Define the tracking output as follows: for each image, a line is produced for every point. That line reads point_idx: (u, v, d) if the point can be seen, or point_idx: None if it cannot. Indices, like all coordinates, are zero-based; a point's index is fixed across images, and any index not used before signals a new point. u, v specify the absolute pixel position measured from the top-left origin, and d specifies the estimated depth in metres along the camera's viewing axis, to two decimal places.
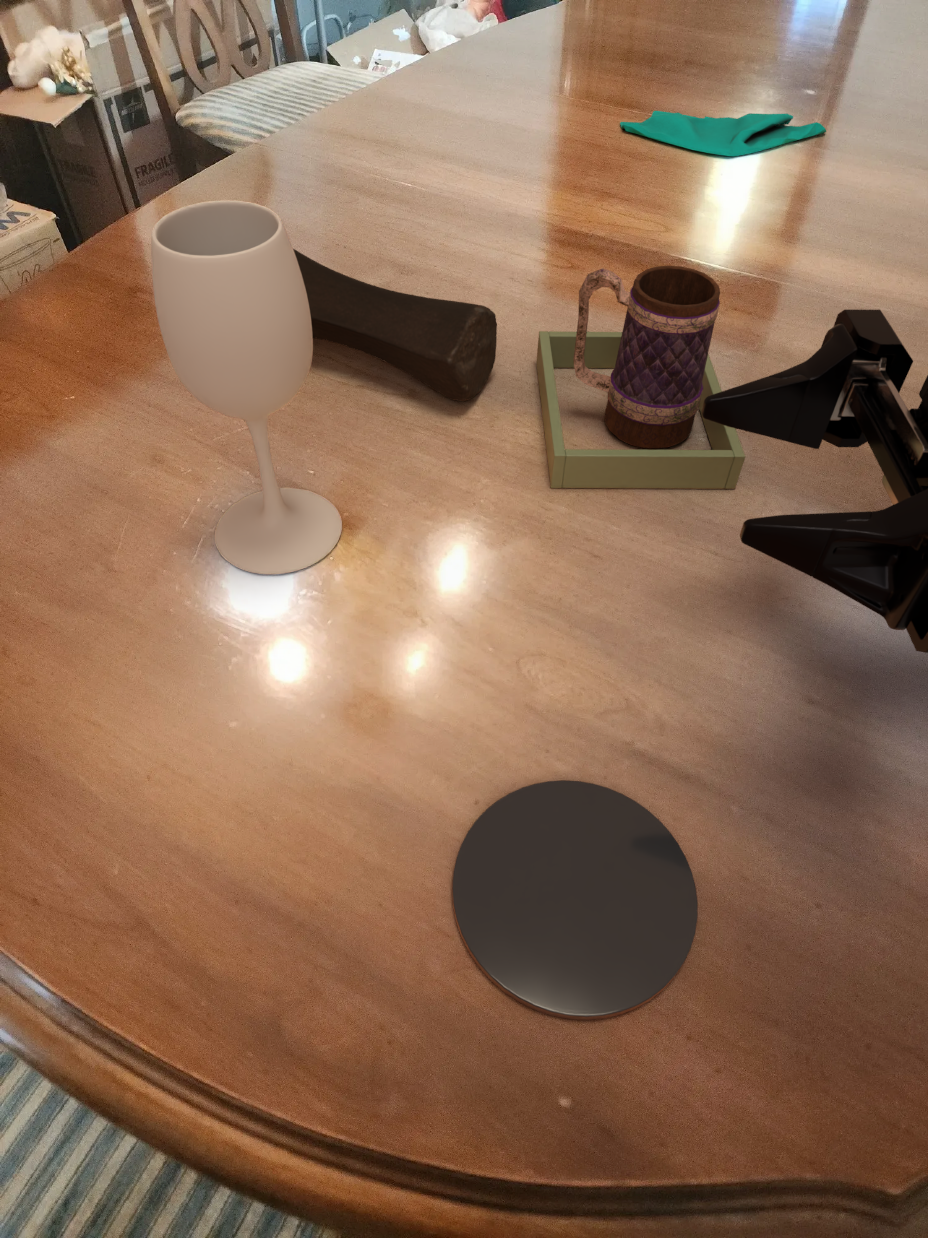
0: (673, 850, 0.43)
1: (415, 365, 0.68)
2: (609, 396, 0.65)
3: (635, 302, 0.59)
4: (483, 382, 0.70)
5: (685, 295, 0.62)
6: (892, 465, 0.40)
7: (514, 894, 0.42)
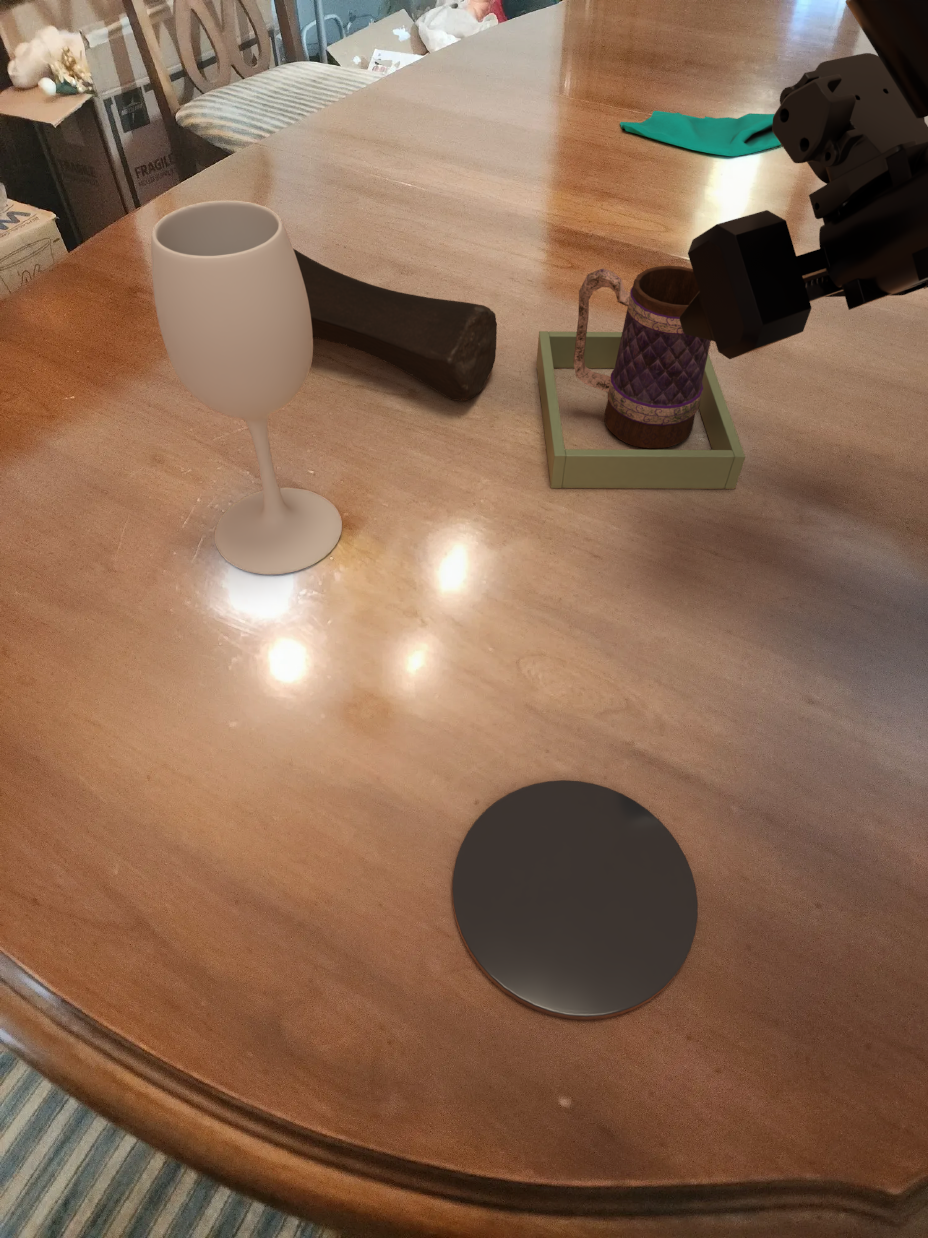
0: (673, 850, 0.43)
1: (415, 365, 0.68)
2: (609, 396, 0.65)
3: (635, 302, 0.59)
4: (483, 382, 0.70)
5: (685, 295, 0.62)
6: None
7: (514, 894, 0.42)
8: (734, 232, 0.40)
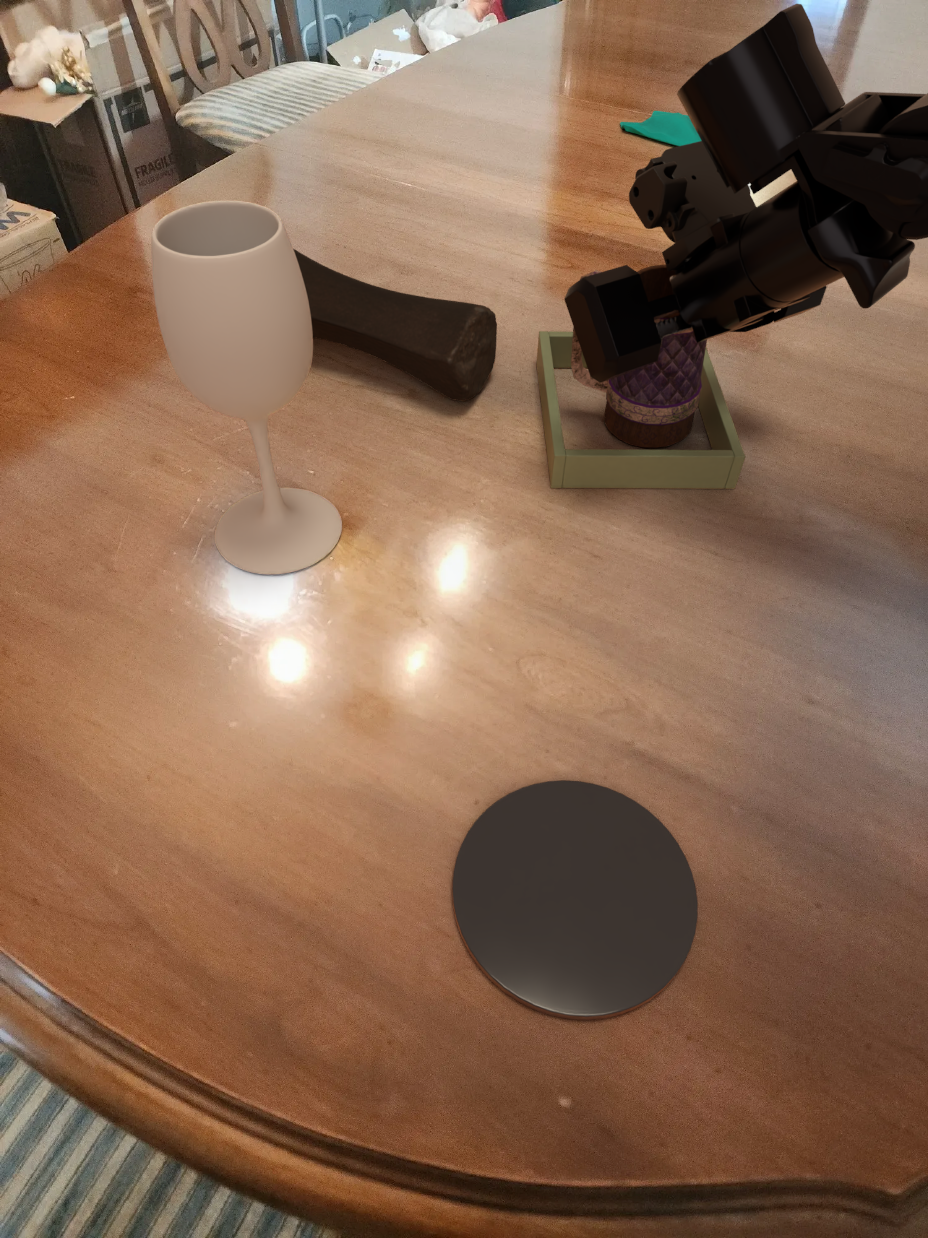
0: (673, 850, 0.43)
1: (415, 365, 0.68)
2: (607, 396, 0.65)
3: None
4: (483, 382, 0.70)
5: None
6: None
7: (514, 894, 0.42)
8: (595, 284, 0.51)
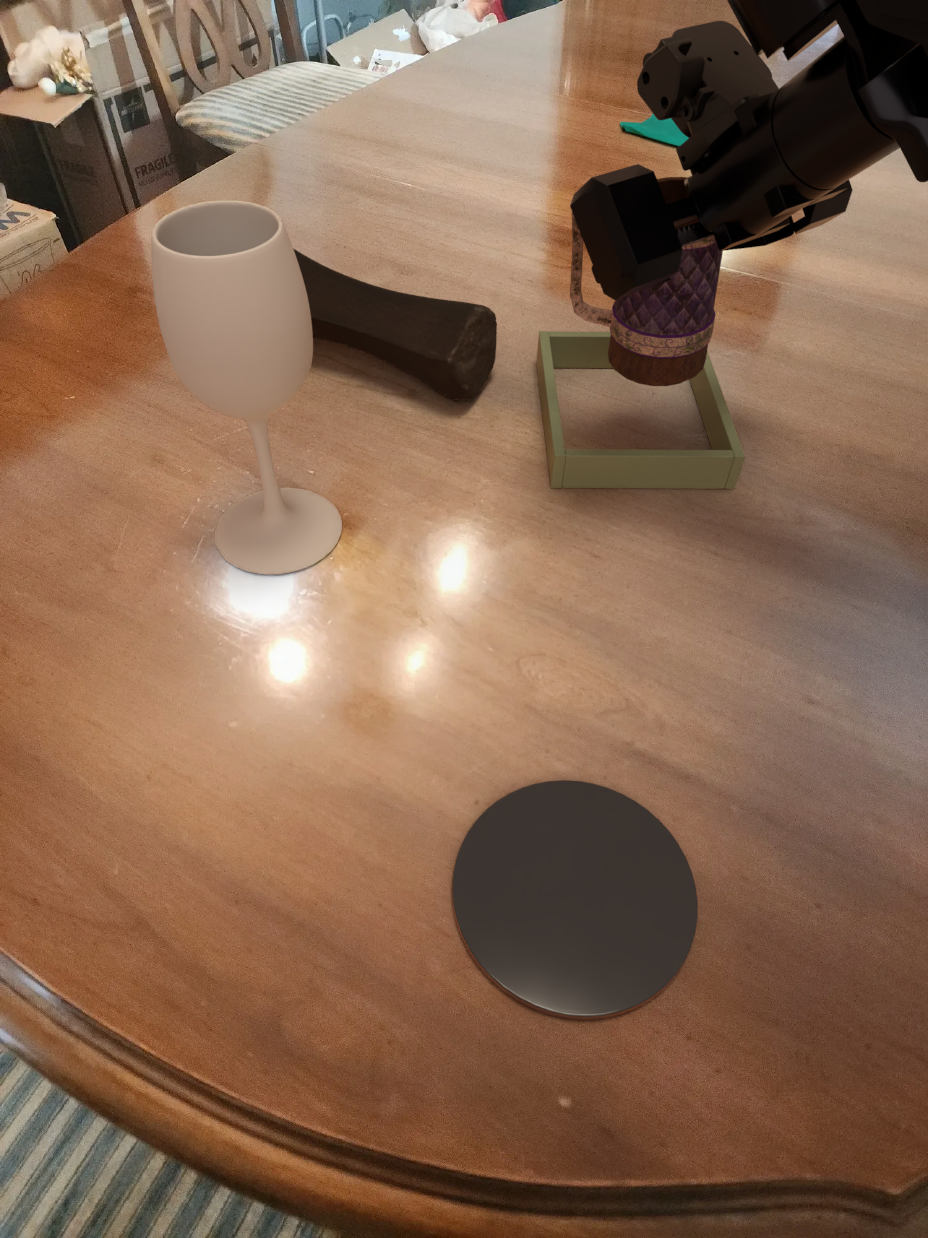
0: (673, 850, 0.43)
1: (415, 365, 0.68)
2: (612, 331, 0.59)
3: None
4: (483, 382, 0.70)
5: None
6: None
7: (514, 894, 0.42)
8: (606, 183, 0.45)
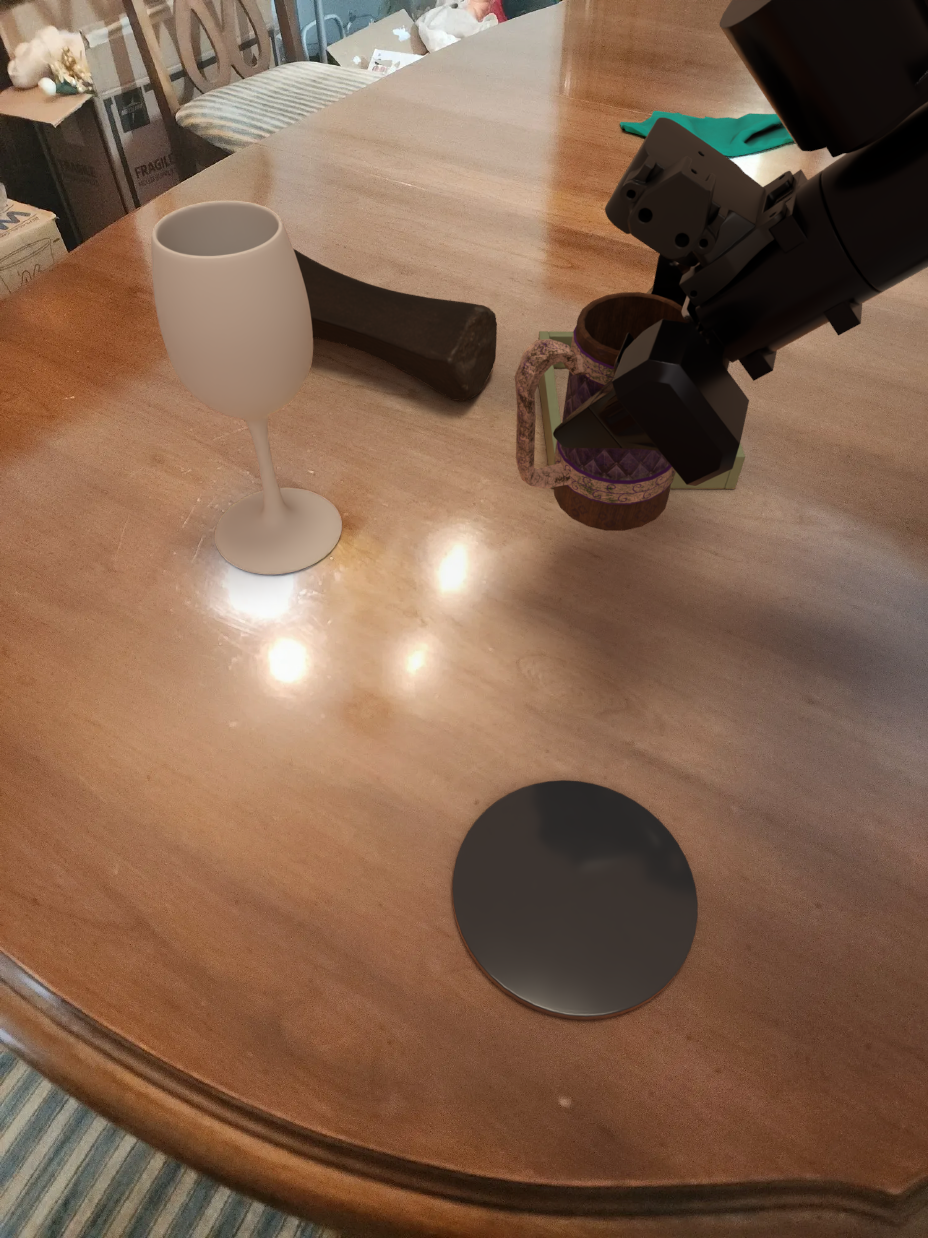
0: (673, 850, 0.43)
1: (415, 365, 0.68)
2: (578, 488, 0.48)
3: (608, 366, 0.42)
4: (483, 382, 0.70)
5: (617, 328, 0.46)
6: None
7: (514, 894, 0.42)
8: (674, 362, 0.34)
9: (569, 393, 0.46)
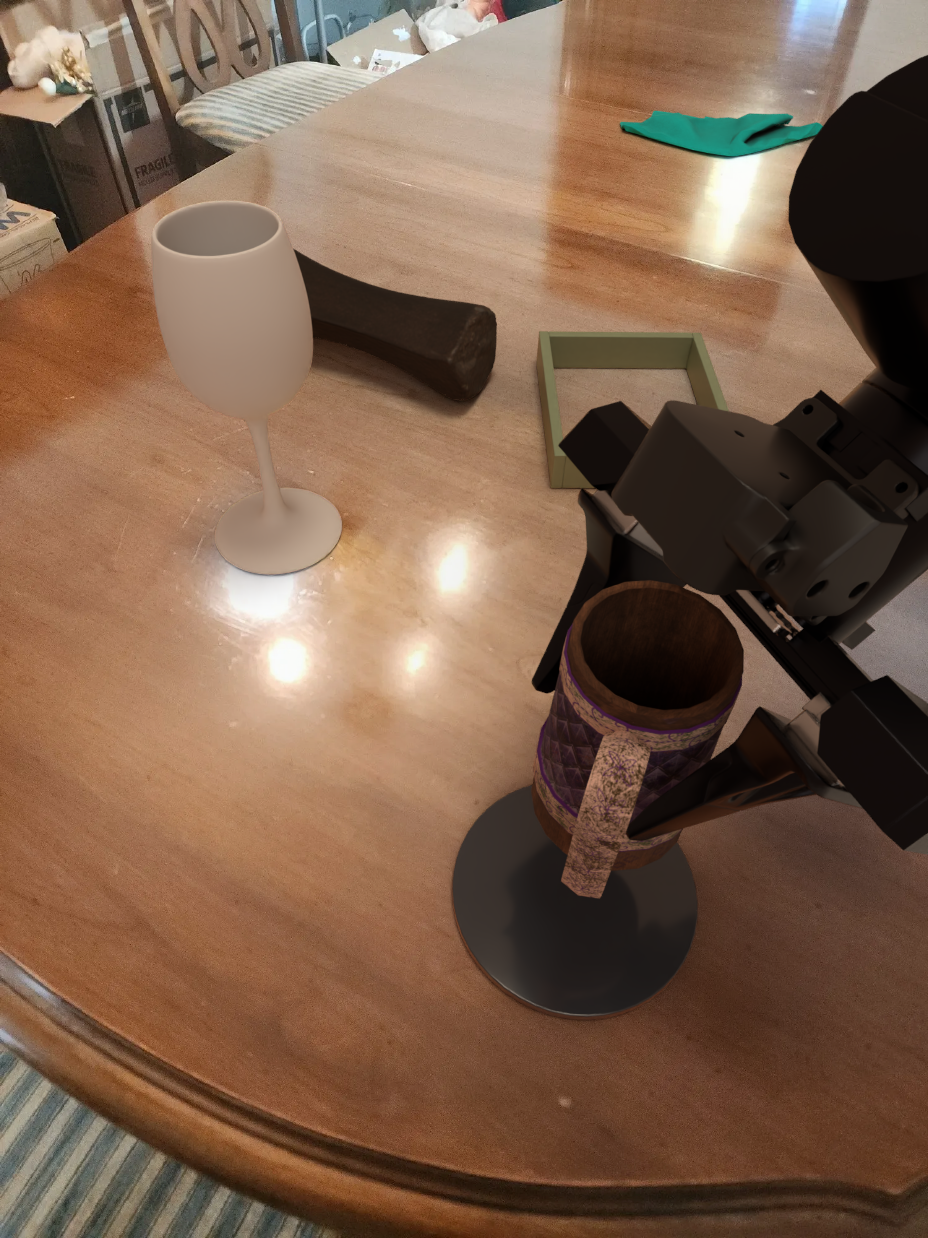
0: (673, 850, 0.43)
1: (415, 365, 0.68)
2: (629, 847, 0.34)
3: (684, 731, 0.28)
4: (483, 382, 0.70)
5: (583, 640, 0.32)
6: None
7: (514, 894, 0.42)
8: None
9: (593, 763, 0.31)
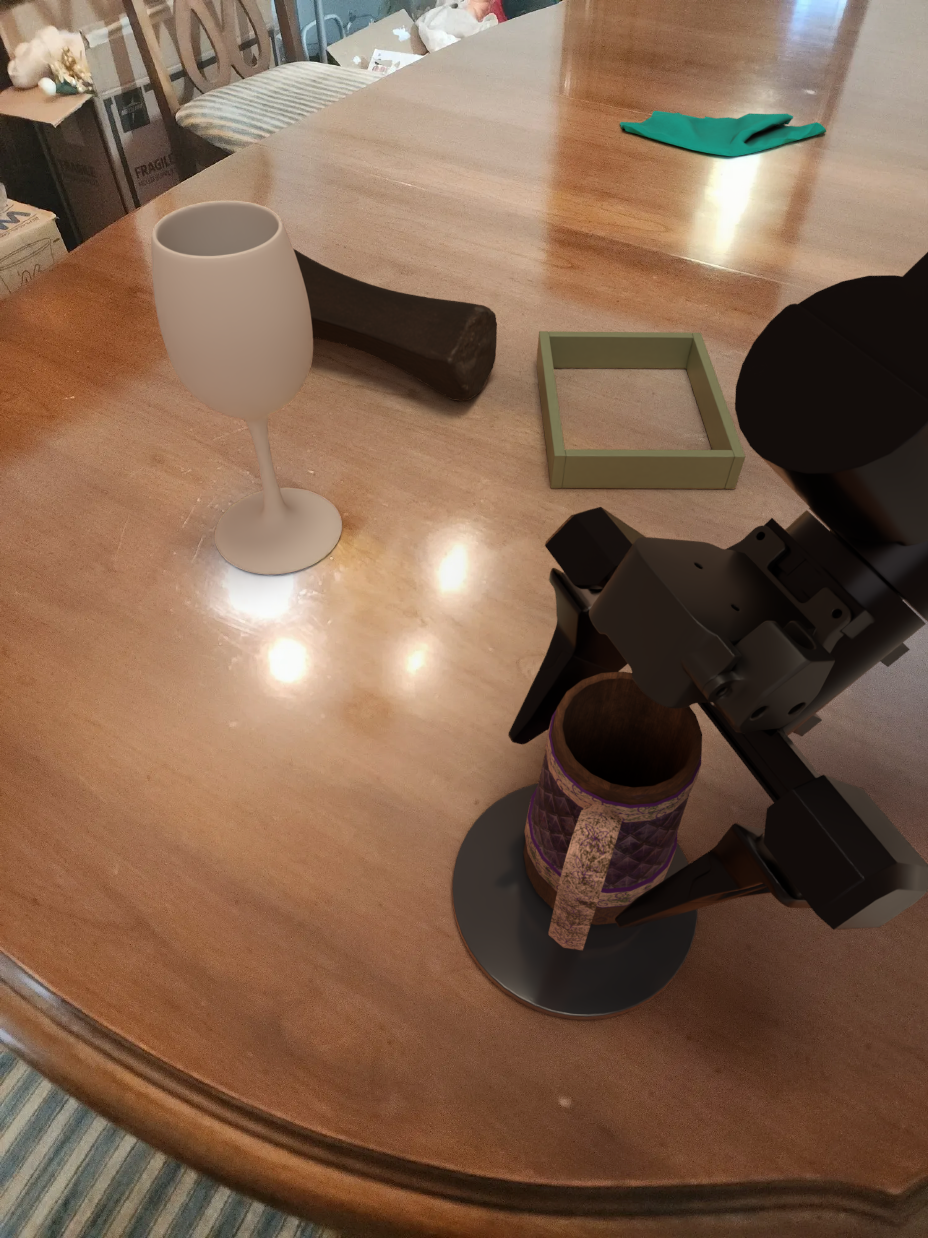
0: None
1: (415, 365, 0.68)
2: (609, 904, 0.38)
3: (651, 805, 0.33)
4: (483, 382, 0.70)
5: (566, 722, 0.37)
6: (705, 712, 0.33)
7: (514, 894, 0.42)
8: (884, 860, 0.26)
9: None
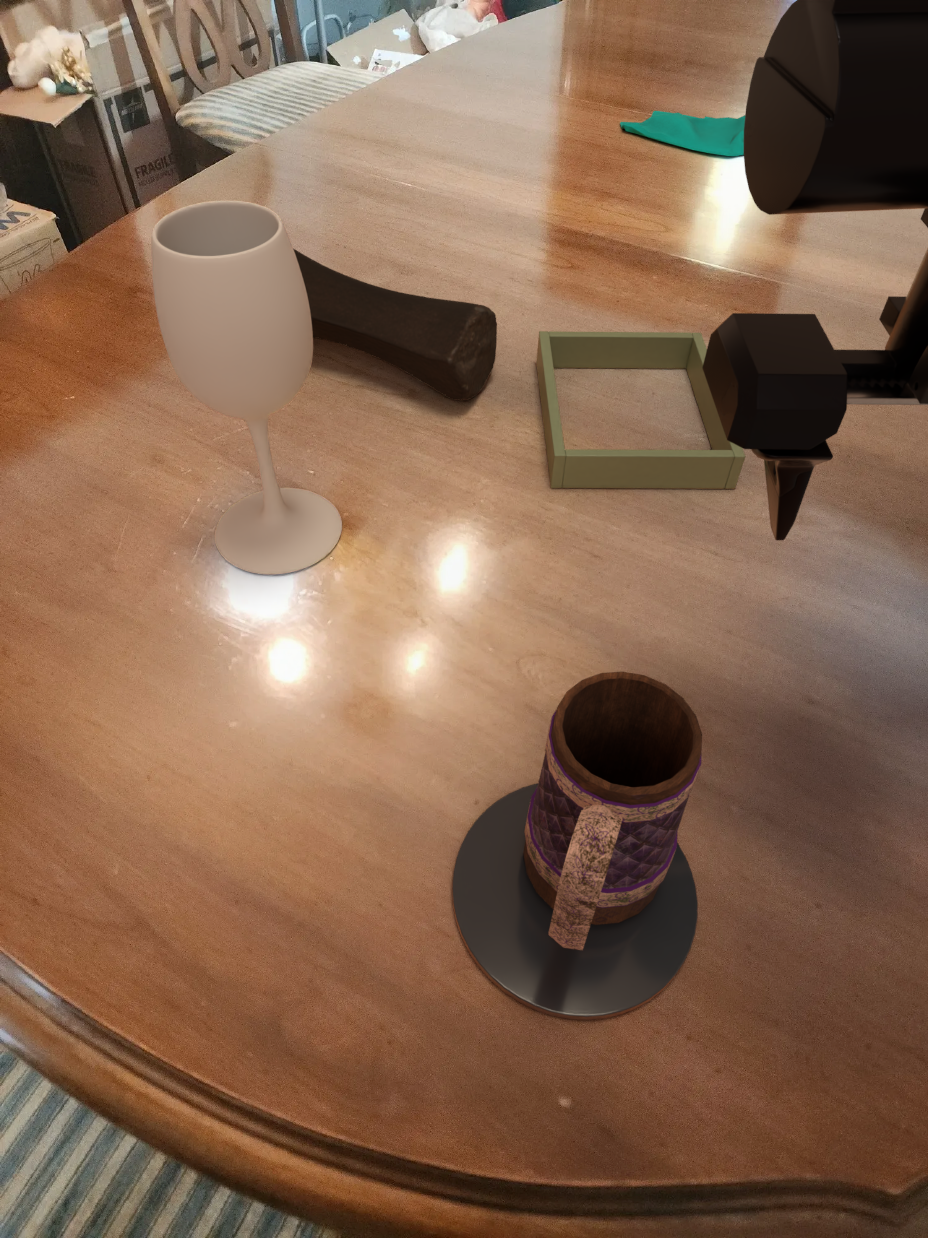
0: None
1: (415, 365, 0.68)
2: (609, 904, 0.38)
3: (651, 805, 0.33)
4: (483, 382, 0.70)
5: (566, 722, 0.37)
6: None
7: (514, 894, 0.42)
8: None
9: None
